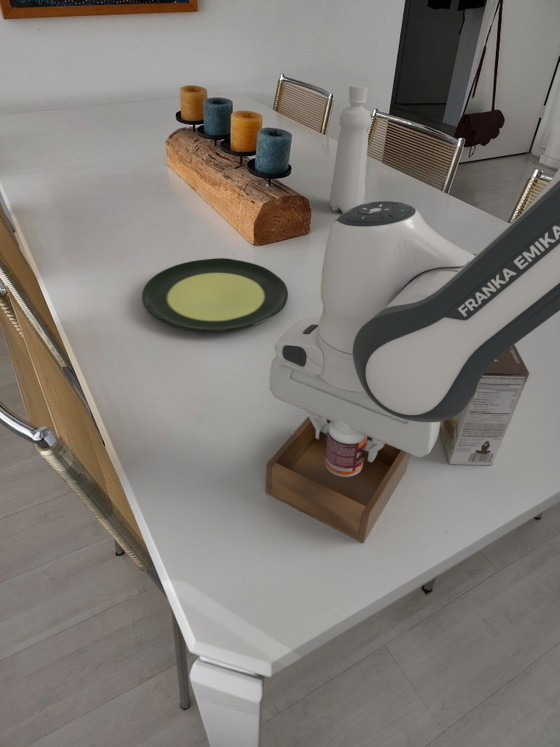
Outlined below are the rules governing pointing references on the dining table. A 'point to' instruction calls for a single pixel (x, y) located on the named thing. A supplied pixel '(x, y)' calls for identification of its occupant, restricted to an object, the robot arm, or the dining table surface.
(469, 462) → the coffee box
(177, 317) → the plate
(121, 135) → the dining table surface
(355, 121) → the bottle
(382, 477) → the wooden box
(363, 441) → the pill bottle
